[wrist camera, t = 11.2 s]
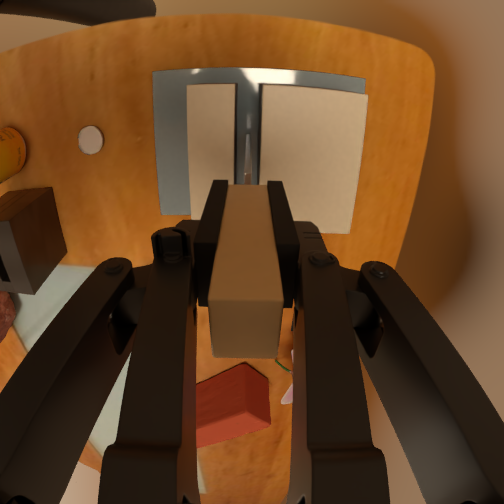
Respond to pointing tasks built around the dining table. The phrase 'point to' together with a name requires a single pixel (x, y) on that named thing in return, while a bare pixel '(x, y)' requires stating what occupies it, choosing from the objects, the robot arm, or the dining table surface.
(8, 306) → the rock
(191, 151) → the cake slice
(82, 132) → the white flat disc
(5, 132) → the beer can
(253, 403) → the brick
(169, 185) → the platter
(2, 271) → the knife block
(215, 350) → the knife
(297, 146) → the beige rectangular block
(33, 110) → the dining table surface
